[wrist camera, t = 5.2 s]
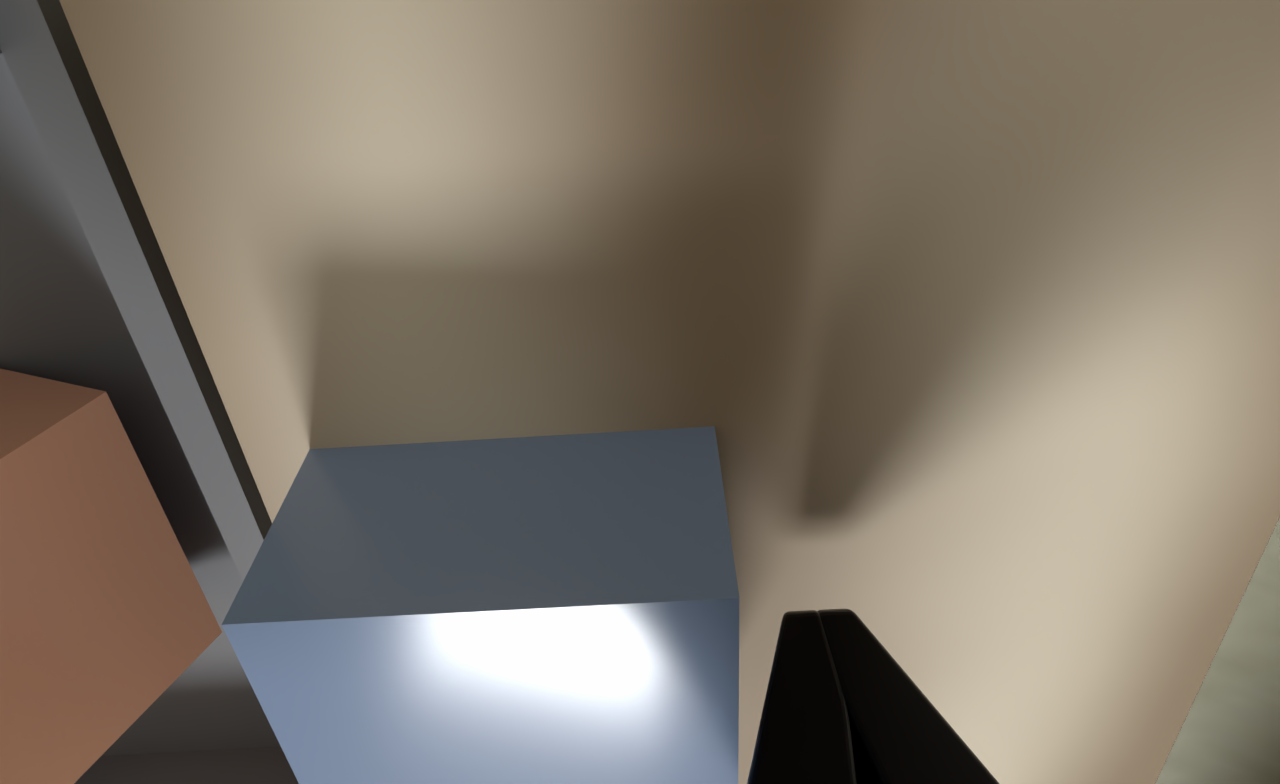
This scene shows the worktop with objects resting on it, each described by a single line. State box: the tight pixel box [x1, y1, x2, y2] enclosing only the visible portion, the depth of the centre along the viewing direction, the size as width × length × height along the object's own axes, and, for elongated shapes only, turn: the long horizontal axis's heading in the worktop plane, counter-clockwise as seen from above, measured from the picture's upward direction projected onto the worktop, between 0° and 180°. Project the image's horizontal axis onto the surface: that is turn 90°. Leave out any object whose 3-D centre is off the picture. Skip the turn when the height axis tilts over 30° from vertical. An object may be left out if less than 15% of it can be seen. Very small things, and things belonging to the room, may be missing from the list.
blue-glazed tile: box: [222, 426, 740, 784], centre depth 10 cm, size 4×4×2 cm
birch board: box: [59, 0, 1280, 784], centre depth 12 cm, size 12×14×3 cm
